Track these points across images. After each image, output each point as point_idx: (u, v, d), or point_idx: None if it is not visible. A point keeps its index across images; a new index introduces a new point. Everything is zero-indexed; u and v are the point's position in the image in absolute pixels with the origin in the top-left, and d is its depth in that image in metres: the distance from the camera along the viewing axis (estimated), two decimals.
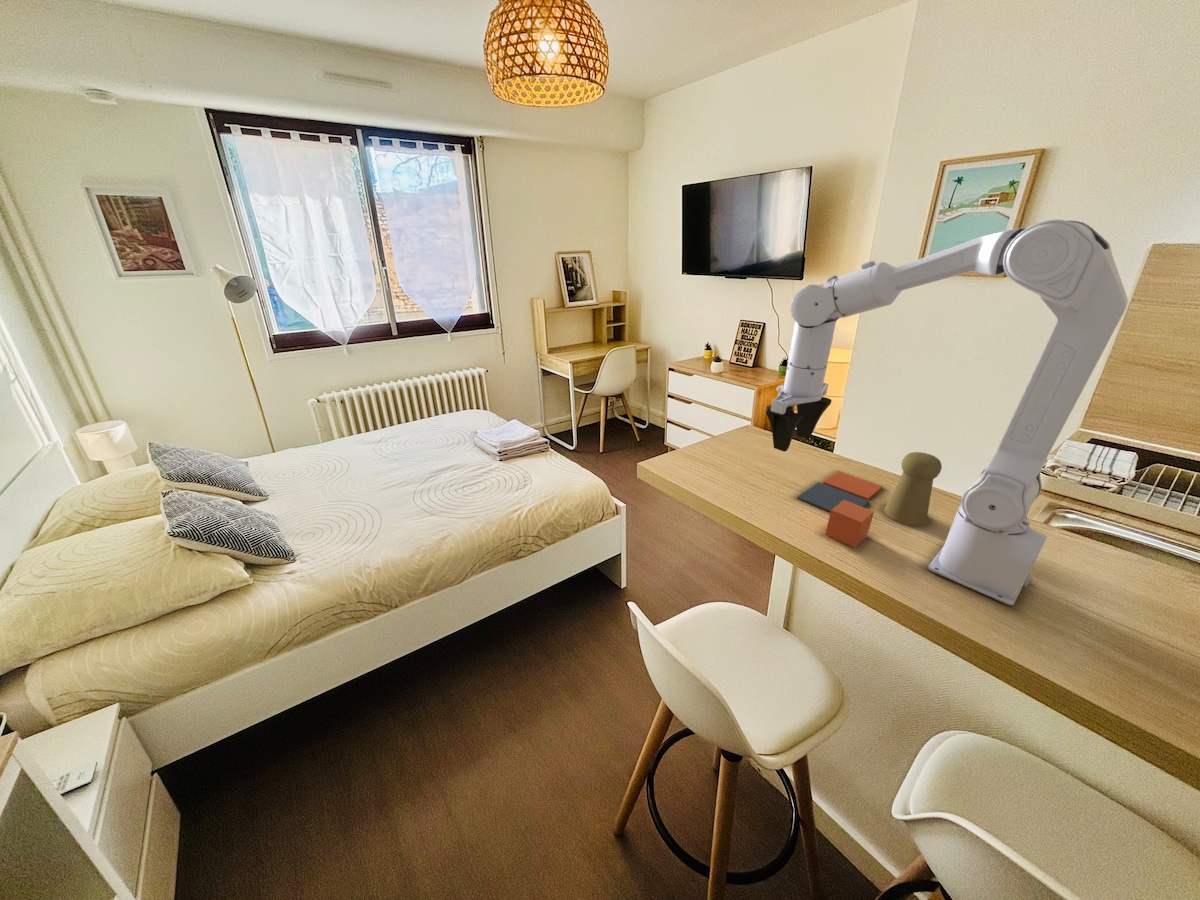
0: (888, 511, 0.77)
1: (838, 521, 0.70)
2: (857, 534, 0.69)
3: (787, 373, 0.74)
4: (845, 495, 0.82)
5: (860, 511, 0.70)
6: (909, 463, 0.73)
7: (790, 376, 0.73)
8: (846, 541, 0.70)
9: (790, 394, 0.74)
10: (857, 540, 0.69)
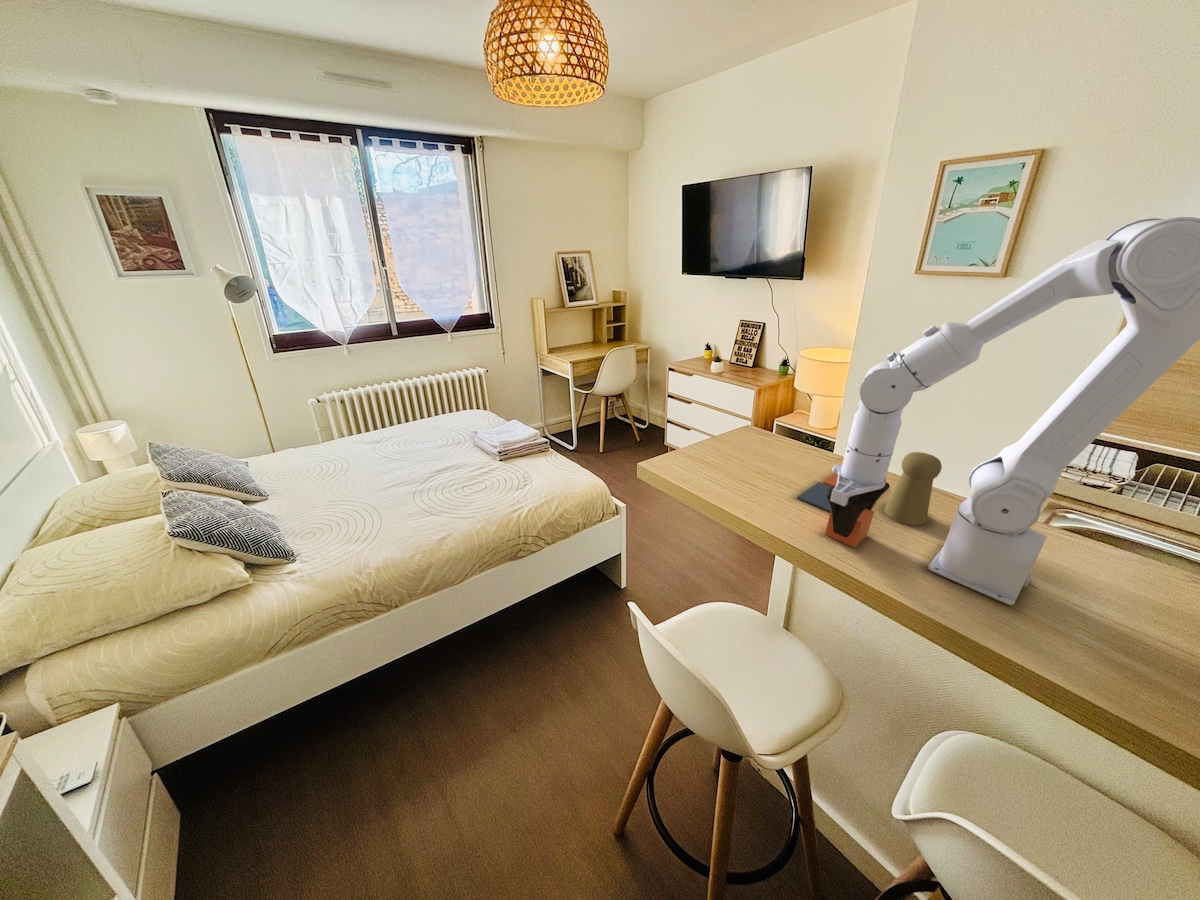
0: (888, 511, 0.77)
1: None
2: (857, 534, 0.69)
3: (847, 456, 0.67)
4: None
5: None
6: (909, 463, 0.73)
7: (851, 461, 0.66)
8: (845, 541, 0.70)
9: (850, 480, 0.66)
10: (857, 540, 0.69)
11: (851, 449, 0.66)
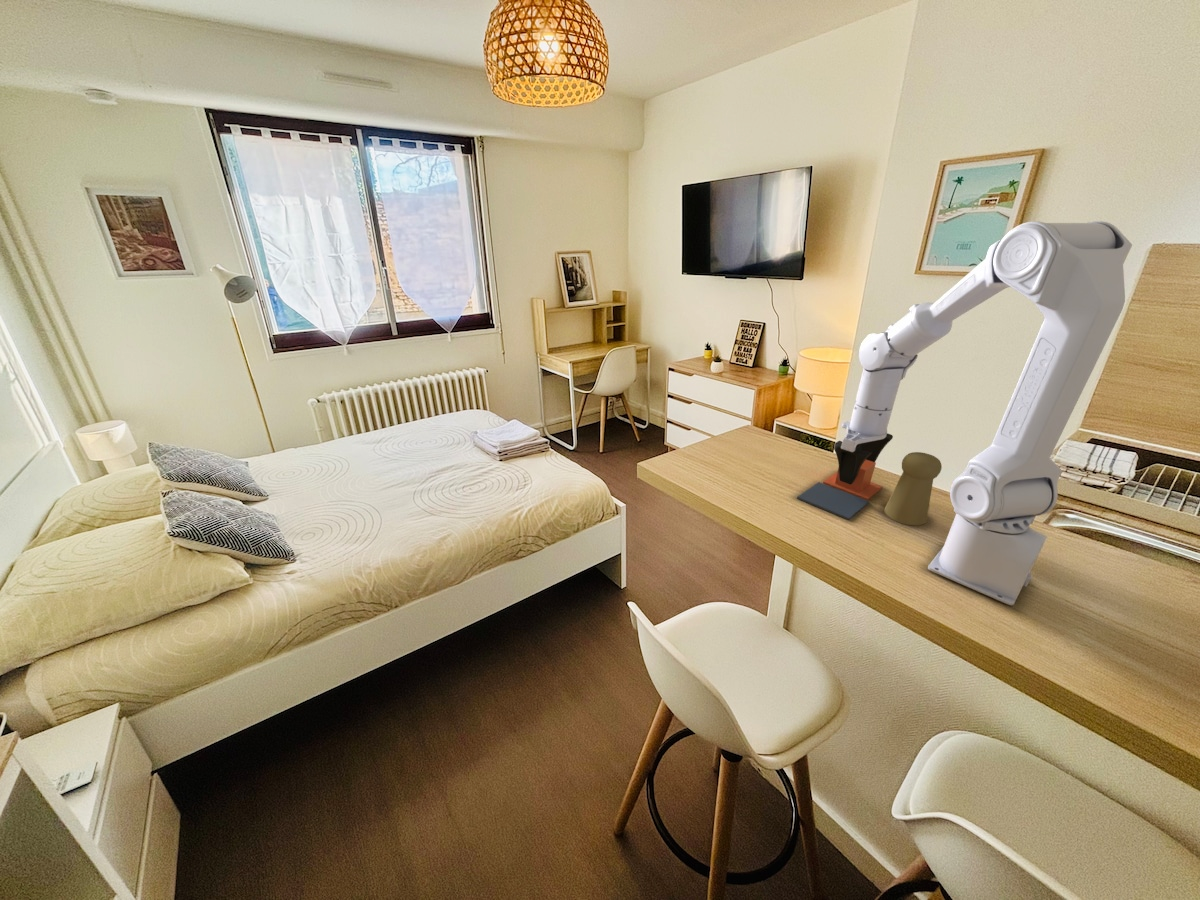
0: (888, 511, 0.77)
1: None
2: (862, 480, 0.82)
3: (854, 412, 0.80)
4: (845, 495, 0.82)
5: (864, 462, 0.84)
6: (909, 463, 0.73)
7: (858, 416, 0.79)
8: (852, 487, 0.84)
9: (857, 432, 0.80)
10: (862, 486, 0.83)
11: (858, 406, 0.79)
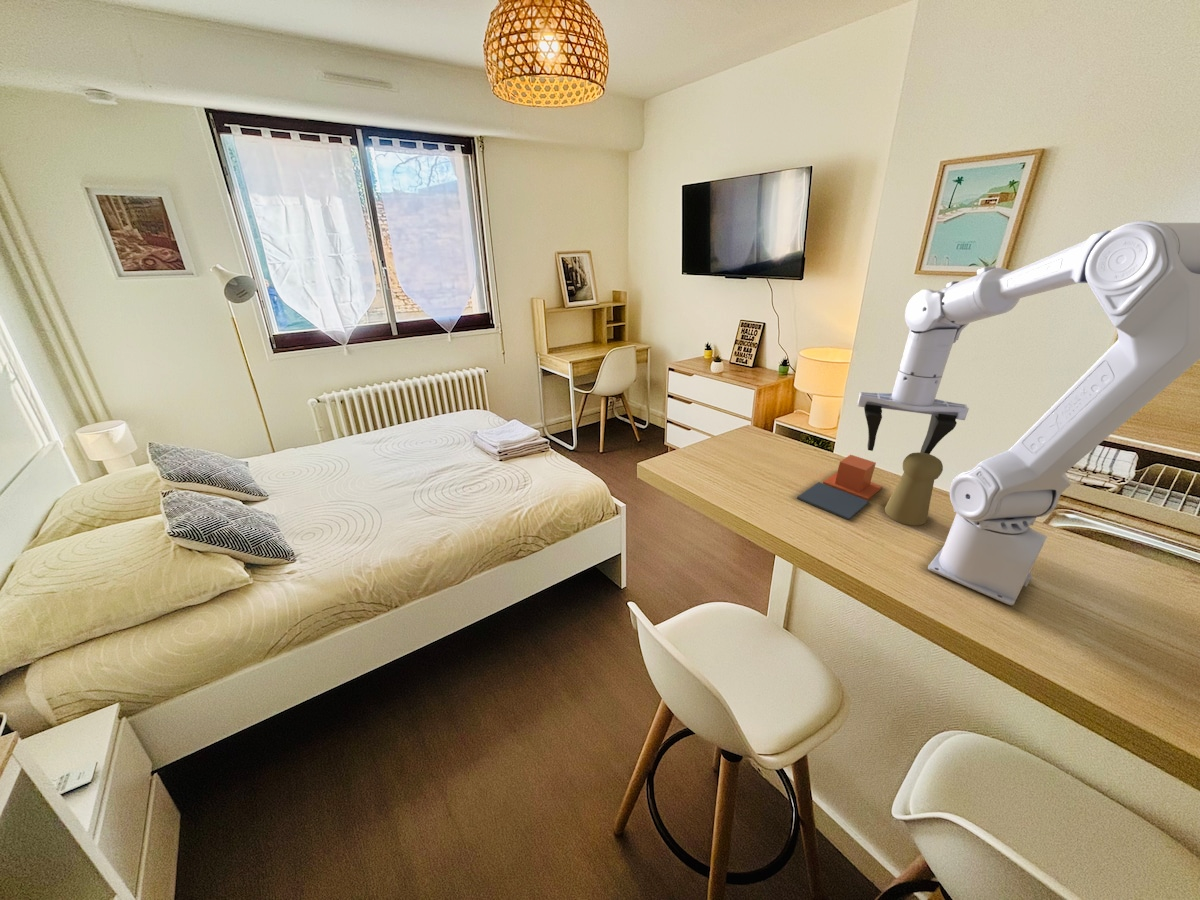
0: (888, 511, 0.77)
1: (846, 471, 0.84)
2: (862, 480, 0.82)
3: None
4: (845, 495, 0.82)
5: (864, 462, 0.84)
6: (910, 464, 0.72)
7: None
8: (852, 487, 0.84)
9: (890, 396, 0.75)
10: (862, 486, 0.83)
11: None
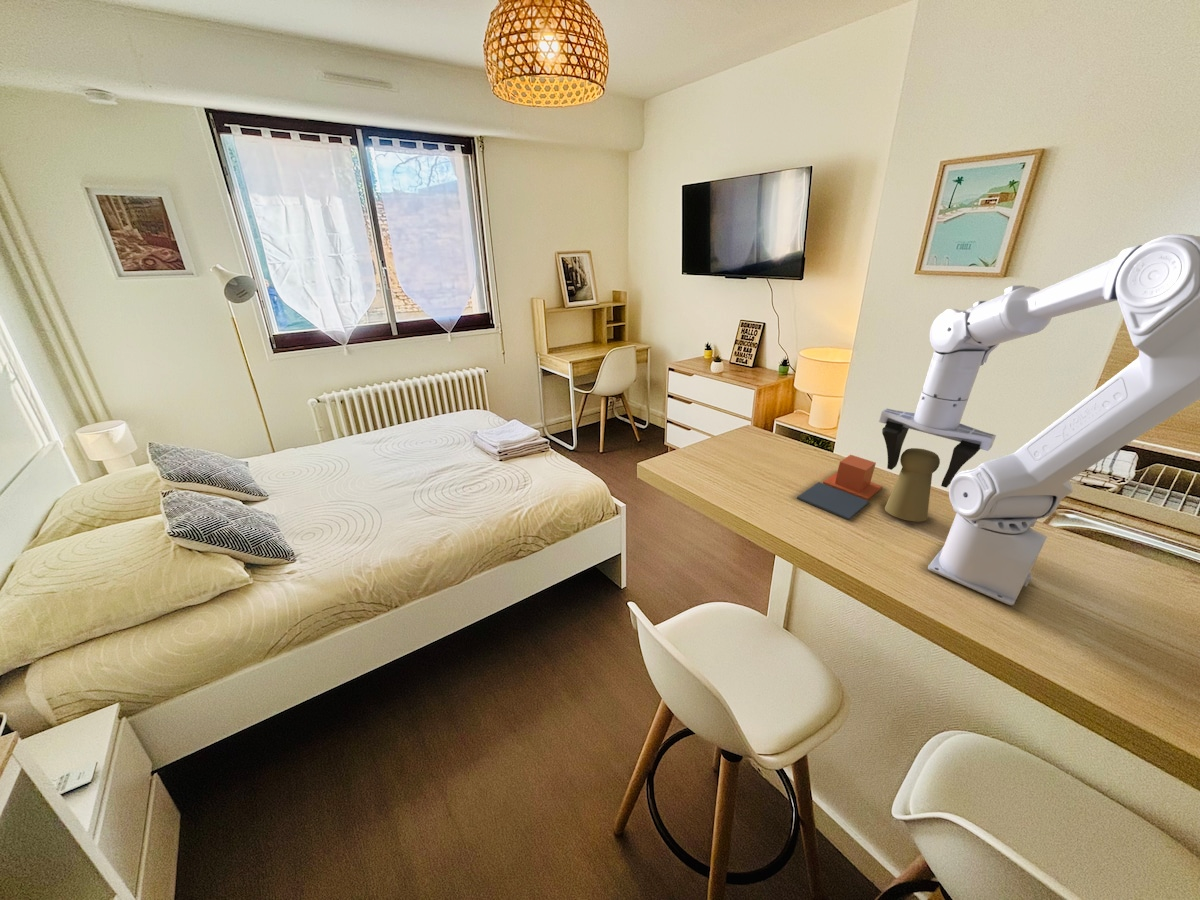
0: (889, 508, 0.77)
1: (846, 471, 0.84)
2: (862, 480, 0.82)
3: None
4: (845, 495, 0.82)
5: (864, 462, 0.84)
6: (908, 456, 0.73)
7: None
8: (852, 487, 0.84)
9: None
10: (862, 486, 0.83)
11: None
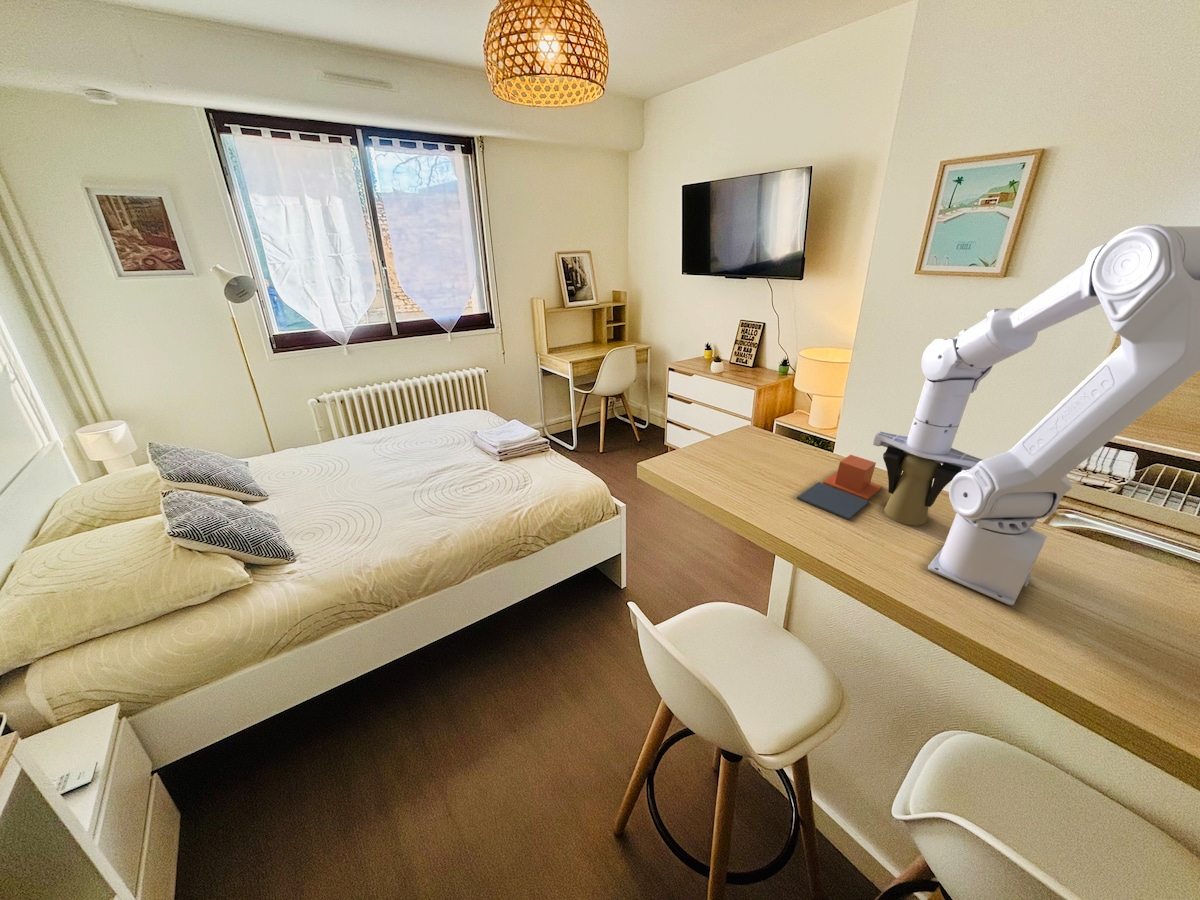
0: (888, 511, 0.77)
1: (846, 471, 0.84)
2: (862, 480, 0.82)
3: None
4: (845, 495, 0.82)
5: (864, 462, 0.84)
6: (909, 463, 0.73)
7: None
8: (852, 487, 0.84)
9: None
10: (862, 486, 0.83)
11: None
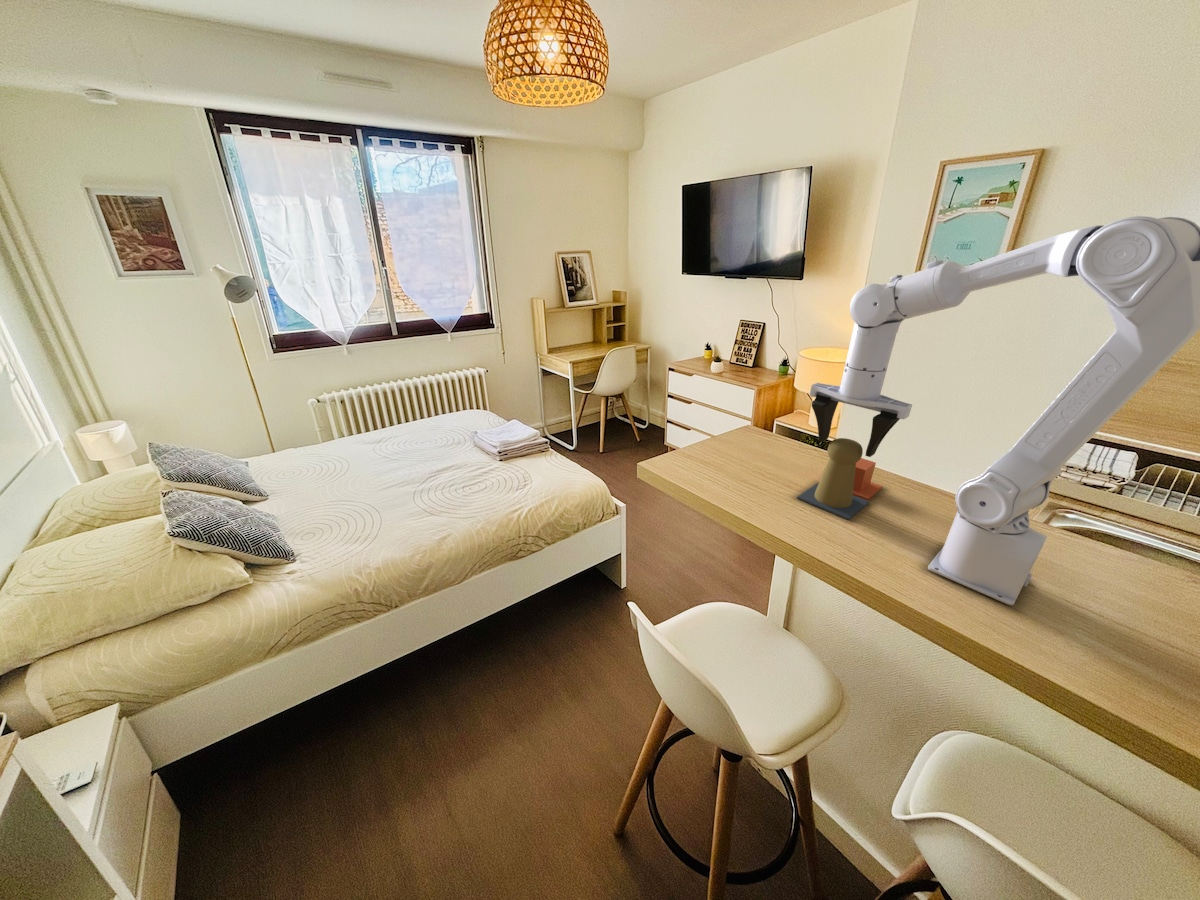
0: (817, 495, 0.81)
1: None
2: (862, 480, 0.82)
3: None
4: None
5: (864, 462, 0.84)
6: (833, 448, 0.77)
7: None
8: None
9: None
10: (862, 486, 0.83)
11: None
